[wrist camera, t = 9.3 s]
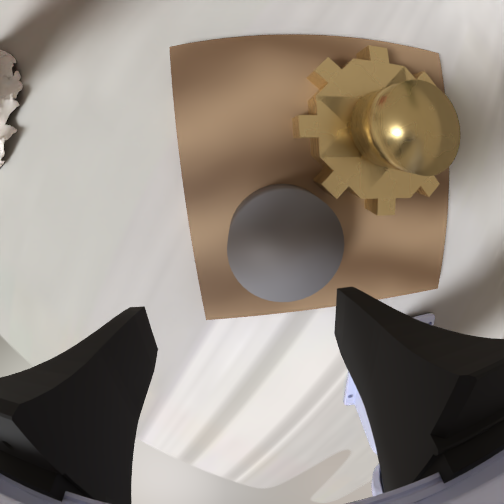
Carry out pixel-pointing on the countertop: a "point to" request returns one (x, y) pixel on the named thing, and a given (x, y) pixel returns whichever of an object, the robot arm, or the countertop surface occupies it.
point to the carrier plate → (287, 183)
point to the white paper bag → (7, 97)
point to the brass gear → (378, 130)
